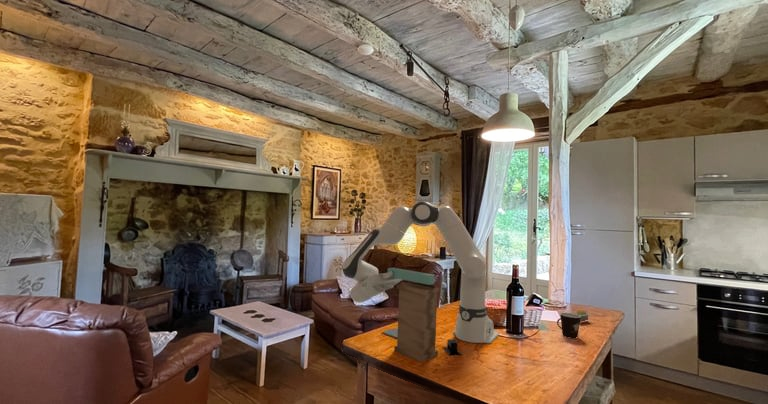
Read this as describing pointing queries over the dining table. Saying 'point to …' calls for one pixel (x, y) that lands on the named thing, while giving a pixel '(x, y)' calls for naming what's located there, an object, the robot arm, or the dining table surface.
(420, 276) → the teal square bar
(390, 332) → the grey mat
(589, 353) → the dining table surface
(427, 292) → the walnut stand
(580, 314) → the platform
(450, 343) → the black block on plate
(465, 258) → the robot arm
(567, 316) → the coffee mug
